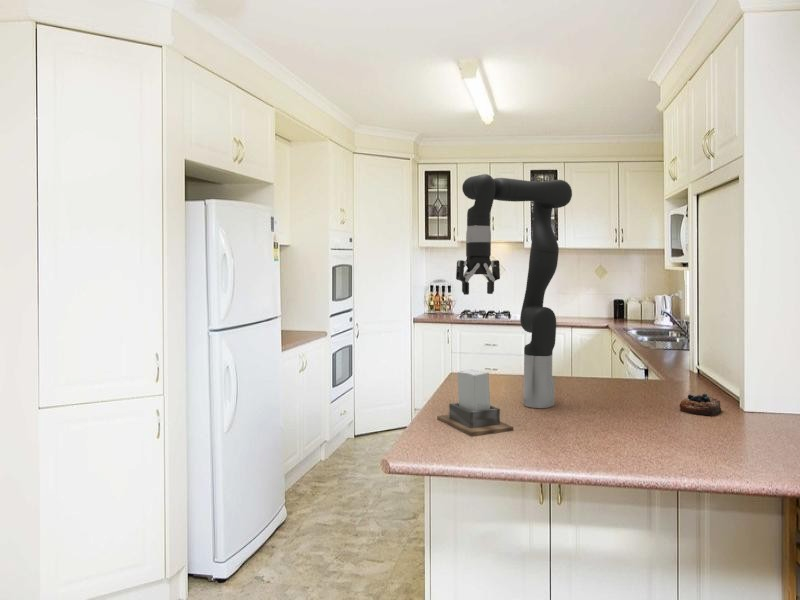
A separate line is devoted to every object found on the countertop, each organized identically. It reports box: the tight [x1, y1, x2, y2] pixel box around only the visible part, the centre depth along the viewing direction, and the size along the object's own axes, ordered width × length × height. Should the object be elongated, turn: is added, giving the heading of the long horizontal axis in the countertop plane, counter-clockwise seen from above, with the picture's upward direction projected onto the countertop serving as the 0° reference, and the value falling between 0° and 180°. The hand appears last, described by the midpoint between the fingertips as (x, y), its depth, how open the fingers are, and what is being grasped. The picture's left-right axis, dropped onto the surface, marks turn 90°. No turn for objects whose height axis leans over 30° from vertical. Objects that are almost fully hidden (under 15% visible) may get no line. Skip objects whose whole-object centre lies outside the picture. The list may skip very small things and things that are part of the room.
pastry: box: [679, 393, 723, 417], centre depth 193 cm, size 11×12×6 cm
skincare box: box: [457, 369, 491, 411], centre depth 177 cm, size 8×6×15 cm
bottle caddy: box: [436, 402, 514, 437], centre depth 177 cm, size 14×20×6 cm
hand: (478, 294), depth 185 cm, fingers open, 8 cm apart
